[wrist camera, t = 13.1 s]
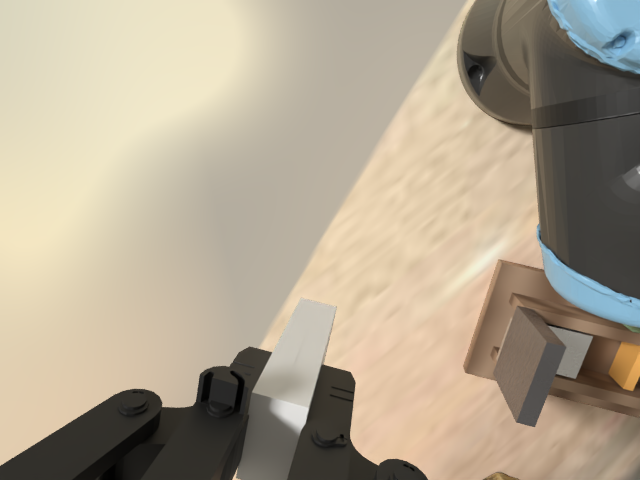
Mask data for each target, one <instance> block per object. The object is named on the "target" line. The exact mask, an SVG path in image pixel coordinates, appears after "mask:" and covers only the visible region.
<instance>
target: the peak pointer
mask: <svg viewBox="0 0 640 480" xmlns="http://www.w3.org/2000/svg"><path fill="white" fill-rule="evenodd" d="M608 374H609V375H610V376H611V377H612V378H613V379H614V380H615V381H616V382H617V383H618V384H619V385H620V386H621V387H622V388H623V389H626V390H630V391H633V390H634V388H635V385H636V383H637V381H638V379H639V377H640V346H639V345H635V344H631V343H627V342H621V345H620V347H619V349H618V352H617V354H616V356H615V358H614V361H613V363H612V365H611V368H610V370H609V372H608Z"/></svg>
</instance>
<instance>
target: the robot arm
mask: <svg viewBox="0 0 640 480" xmlns="http://www.w3.org/2000/svg"><path fill="white" fill-rule="evenodd" d="M457 64H458V70H459V75H460V78H461V81H462V84H463V86H464V88H465V90H466V92H467V93H468V95H469V96H470V98H471V99H472V100H473V102H474V103H475V104H476V105H477V106H478V107H479V108H480V109H482V110H483V111H484V112H485V113H487V114H488V115H490V116H492V117H494V118H496V119H498V120H501V121H504V122H507V123H511V124H518V125H532V128H533V129H532V135H533V147H534V160H535V173H536V186H537V199H538V212H539V224H538V226H537V239H538V241H539V244H540V247H541V249H542V257H543V265H544V271H545V274H546V277H547V278H548V280H549V282H550V284H551V286H552V287H553V288H554V290H555V291H556V292H557V293H558V294H560V295H561V296H562V297H563V298H564V299H566V300H567V301H568V302H570V303H572V304H573V305H575V306H577V307H579V308H580V309H582V310H584V311H587V312H589V313H591V314H594V315H596V316H599V317H602V318H604V319H607V320H610V321H614V322H617V323H621V324H625V325H629V326H633V327H638V328H640V0H476V1H475V2H474V4H473V5H472V7H471V8H470V10H469V12H468V14H467V16H466V18H465V20H464V22H463V25H462V28H461V31H460V35H459V39H458V46H457ZM336 308H337V307H336V306H332V305H328V304H324V303H320V302H316V301H312V300H308V299H304V298H301V299H300V301H299V303H298V305H297V306H296V308H295V310H294V312H293V314H292V316H291V318H290V320H289V322H288V324H287V326H286V328H285V329H284V331H283V333H282V335H281V337H280V339H279V341H278V343H277V345H276V347H275V349H274V351H273V353H272V352H268V351H265V350H261V349H257V348H253V347H248V348H246V349H244V350H243V351H241V352H239V353H238V355H237V356H236V358H235V359H234V361H233V363H232V364H231V365H230V367H226V366H218V367H212V368H210V369H207V370H205V371H204V372H202V373H201V374H200V378H199V385H198V392H197V399H196V402H195V404H194V405H193V406H191V407H185V408H169V407H162V401H161V399H160V397H159V396H158V395H156V394H155V393H154V392H152V391H148V390H145V389H131V390H126V391H122V392H120V393H118V394H115V395H114V396H112V397H110V398H109V399H107V400H106V401H104V402H102V403H101V404H99V405H97V406H96V407H94V408H93V409H91V410H89V411H88V412H86V413H85V414H83V415H81V416H80V417H78V418H77V419H75V420H73V421H72V422H70V423H68V424H67V425H65V426H64V427H62V428H60V429H59V430H57V431H56V432H54V433H52V434H51V435H49V436H48V437H46V438H44V439H43V440H41V441H40V442H38V443H36V444H35V445H33V446H31V447H30V448H28V449H27V450H25V451H23V452H22V453H20V454H19V455H17V456H16V457H14V458H12V459H11V460H9V461H7V462H6V463H4V464H3V465H1V466H0V480H232V479H233V477H234V474H235V472H236V470H237V468H238V470H237V476H236V478H238V479H241V480H428V479H427V477H426V476H425V474H424V473H423V472H422V471H420V470H419V469H418V468H417V467H416V466H414V465H412V464H410V463H409V462H407V461H403V460H399V459H387V460H385V461H383V462H382V463H380V465H379V466H378V465H376V464H374V463H372V462H371V461H369V460H367V459H366V458H365V457H363V456H362V455H361V454H360V453H359V452H358V451H357V450H356V449H355V447H354V446H353V445H352V442H351V439H350V428H351V419H352V410H353V401H354V392H355V383H356V382H355V380H354V378H353V376H352V374H351V372H348V371H345V370H341V369H337V368H333V367H329V366H326V365H324V360H325V356H326V352H327V347H328V343H329V339H330V334H331V330H332V326H333V321H334V317H335V313H336Z"/></svg>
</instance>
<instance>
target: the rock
mask: <svg viewBox="0 0 640 480" xmlns="http://www.w3.org/2000/svg"><path fill="white" fill-rule="evenodd" d="M483 480H519V479H516V478H513V477H509V476H507V475H506V474H503V473H495V474H493V475H491V476H489V477H487V478H485V479H483Z"/></svg>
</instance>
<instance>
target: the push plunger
mask: <svg viewBox="0 0 640 480" xmlns="http://www.w3.org/2000/svg"><path fill="white" fill-rule="evenodd" d="M592 338H593V336H592V335H591V334H589V333H585V332H581V331H577V330H573V329H569V328H565V327H561V326H556V325H552V324H548V323H545V322H544V321H543V320H542V319H541V318H540V317H539V315H538V314H537V313H536V312H535V311H534V310H533V309H530V308H526V307H522V306H517V307H516V310H515V312H514V315H513V317H511V318H510V321H509V323H508V326H507V329H506V332H505V335H504V338H503V340H502V343H501V346H500V349H499V352H498V355H497V357H496V360H497V363H496V366H495V369H494V372H493V374H494V377H495V379H496V381H497V383H498V385H499V387H500V389H501V391H502V393H503V395H504V398H505V400H506V402H507V404H508V406H509V408H510V410H511V412H512V414H513V417H514V419H515V421H516V422H517V423H521V424H525V425H528V426H532V427H535V425H536V423H537V420H538V418H539V415H540V413H541V410H542V408H543V405H544V403H545V400H546V398H547V395H548V393H549V390H550V388H551V385H552V383H553V380H554V378H555V375H556V374H559V375H563V376H567V377H571V378H575V379H576V377H577V374H578V372H579V370H580V367H581V365H582V362H583V360H584V357H585V355H586V353H587V350H588V348H589V345H590V343H591V341H592Z"/></svg>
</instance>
